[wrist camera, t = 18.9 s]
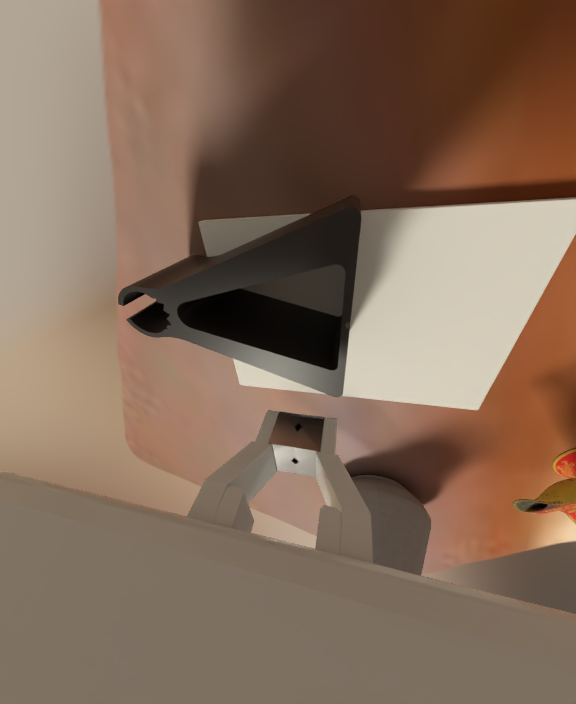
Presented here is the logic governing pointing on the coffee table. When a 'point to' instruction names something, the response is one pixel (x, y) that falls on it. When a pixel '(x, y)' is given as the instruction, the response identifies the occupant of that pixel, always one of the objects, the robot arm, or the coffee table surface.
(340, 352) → the phone stand
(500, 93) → the coffee table surface
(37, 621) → the robot arm
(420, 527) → the coffee pot
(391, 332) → the mat
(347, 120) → the coffee table surface
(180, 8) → the coffee table surface
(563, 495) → the magic lamp
